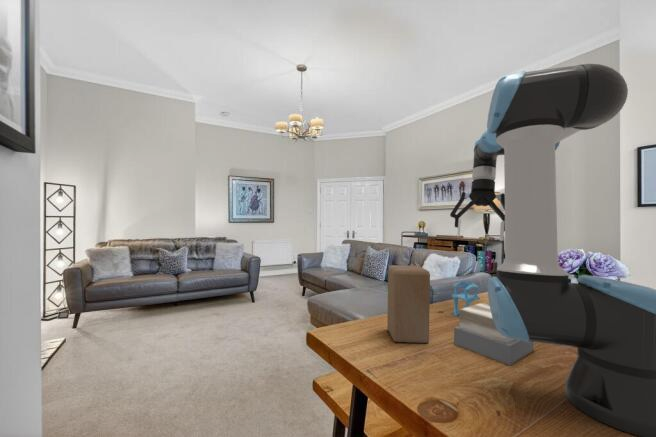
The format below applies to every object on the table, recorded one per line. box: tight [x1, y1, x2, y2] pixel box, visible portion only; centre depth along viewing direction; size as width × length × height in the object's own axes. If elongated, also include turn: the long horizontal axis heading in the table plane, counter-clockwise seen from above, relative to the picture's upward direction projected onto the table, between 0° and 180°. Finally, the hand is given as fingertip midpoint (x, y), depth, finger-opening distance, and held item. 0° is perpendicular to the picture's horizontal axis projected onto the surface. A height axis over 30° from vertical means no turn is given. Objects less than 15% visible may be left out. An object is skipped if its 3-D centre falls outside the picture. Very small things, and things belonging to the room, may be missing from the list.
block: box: [386, 264, 431, 344], centre depth 84 cm, size 10×10×20 cm
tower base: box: [453, 325, 534, 366], centre depth 78 cm, size 14×14×5 cm
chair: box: [451, 281, 481, 319], centre depth 104 cm, size 8×8×12 cm
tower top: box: [458, 302, 515, 343], centre depth 78 cm, size 12×12×5 cm
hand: (479, 238), depth 102 cm, fingers open, 13 cm apart
